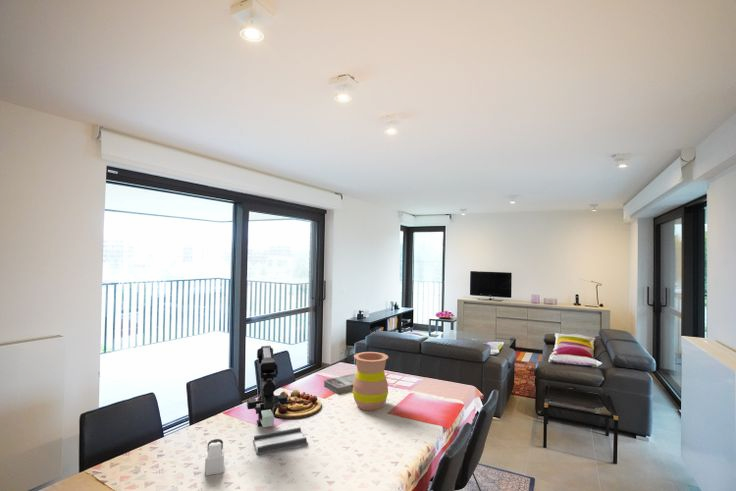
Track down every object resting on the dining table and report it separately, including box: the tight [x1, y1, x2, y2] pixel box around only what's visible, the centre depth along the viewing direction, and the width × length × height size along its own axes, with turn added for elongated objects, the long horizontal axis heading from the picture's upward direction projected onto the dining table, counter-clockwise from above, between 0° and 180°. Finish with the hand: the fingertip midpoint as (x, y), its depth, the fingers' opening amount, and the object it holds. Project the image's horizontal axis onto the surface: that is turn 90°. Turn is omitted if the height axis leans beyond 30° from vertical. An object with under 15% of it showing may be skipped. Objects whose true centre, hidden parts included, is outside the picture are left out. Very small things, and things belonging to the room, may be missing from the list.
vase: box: [352, 351, 389, 412], centre depth 226 cm, size 22×22×30 cm
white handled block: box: [204, 438, 225, 476], centre depth 156 cm, size 7×7×12 cm
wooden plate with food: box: [274, 389, 323, 420], centre depth 221 cm, size 32×32×8 cm
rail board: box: [252, 427, 308, 456], centre depth 179 cm, size 13×24×3 cm, turn 115°
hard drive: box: [323, 373, 357, 395], centre depth 259 cm, size 18×27×4 cm
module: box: [260, 409, 275, 428], centre depth 178 cm, size 8×5×4 cm, turn 26°
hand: (266, 419), depth 178 cm, fingers closed on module, 5 cm apart
